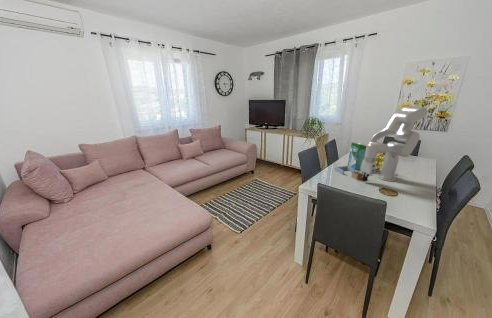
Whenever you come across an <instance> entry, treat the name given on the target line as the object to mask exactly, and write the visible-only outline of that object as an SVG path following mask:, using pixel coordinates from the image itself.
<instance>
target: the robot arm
mask: <svg viewBox="0 0 492 318" xmlns="http://www.w3.org/2000/svg"><path fill="white" fill-rule="evenodd" d="M427 114H428V109H427V108H426V106H425V107H424V106H417V105H415V106H413V105H405V106H402V107H401V108H400V109H399V111H395V112H393V113H392V115H391V117H390V118H389V119H388V122H387V123H386V125H385V126H384V128H383V129H381V130H380V131H378V132H376V133H375V134H374V135H373V136H372V137H371V139H370V140H369V141H368V143H367V145H366V146H367V147H366V152H365V156H364V159H363V161H362V164H361V168H360V169H359V170H360V172H361V173H363V179H361V180H362V181H363V182H367V181H368V178H369V177H373V176H374V174H375V172H376V168H377V167H376V166H377V165H376V163H377V162H376V161H377V159H376V158H377V155H378V154H384V159H383V162H382V167H381V170H380V174H378V175H377V178H378V179H380V180H381V181H382V180H383V181H385V182H395V181H396V180H397V178H396V177H398V176H399V173H396V172H397V168H398V164H399V156H400V157H405V158H407V157H409V156H410V155H411V154H412V153H413V151H414V149H415V148H416V146H417V144H418V143H419V140H420V137H421V136H420V133H419V132H417V131H414V130H413V128H414V126H415V123H416V122H418V121H420V120H422V119H423V118H425V117H426V116H427ZM392 135H394V136H393V138H394V140H396V141H388V142H387V143H383V142H380V141H379V140H381V139H382V138H384V137H389V136H392Z"/></svg>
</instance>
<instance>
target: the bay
mask: <svg viewBox="0 0 492 318" xmlns="http://www.w3.org/2000/svg"><path fill="white" fill-rule="evenodd" d="M345 170H346V171H349V172H350V173H352V172H355V171H356V170H355V169H353V168H351V167H349V166H348V165H343V166H342V165H341V166H335V169H334V171H335V172H337V173H339V174H340V175H344V174H345Z"/></svg>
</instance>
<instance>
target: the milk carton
mask: <svg viewBox="0 0 492 318" xmlns="http://www.w3.org/2000/svg"><path fill="white" fill-rule="evenodd" d="M366 147H367V145H364V143H362V142H358V143H357V142H351V146H350V151H349V155H348V160H347V166H349V167H351V168H353V169H355V171H359V170H360V168H361V164H362V161H363V159H364V156H365V152H366Z"/></svg>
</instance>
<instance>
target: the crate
mask: <svg viewBox="0 0 492 318" xmlns="http://www.w3.org/2000/svg"><path fill="white" fill-rule="evenodd" d="M350 178H352V179H354V180H356V181H359V180H362V179H363V173H362V172H361V171H359V170H355V172H351V177H350Z"/></svg>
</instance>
